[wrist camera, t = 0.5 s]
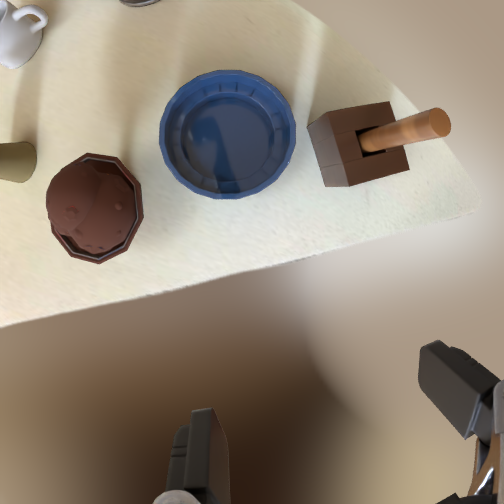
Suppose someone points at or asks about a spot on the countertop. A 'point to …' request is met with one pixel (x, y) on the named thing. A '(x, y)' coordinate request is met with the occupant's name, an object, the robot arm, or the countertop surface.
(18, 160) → the cork
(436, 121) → the stirring stick
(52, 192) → the ice cream bowl
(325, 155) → the stand
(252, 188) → the blue round bowl
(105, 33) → the countertop surface
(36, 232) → the countertop surface
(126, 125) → the countertop surface
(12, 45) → the mug
